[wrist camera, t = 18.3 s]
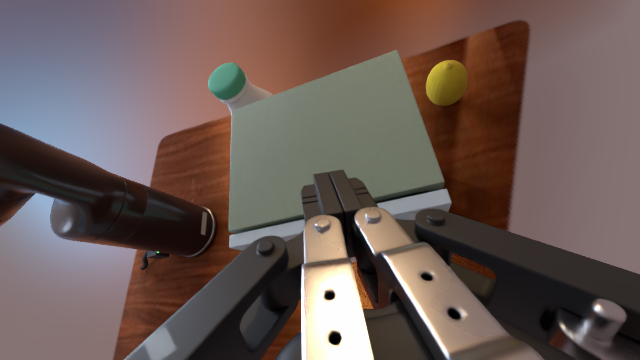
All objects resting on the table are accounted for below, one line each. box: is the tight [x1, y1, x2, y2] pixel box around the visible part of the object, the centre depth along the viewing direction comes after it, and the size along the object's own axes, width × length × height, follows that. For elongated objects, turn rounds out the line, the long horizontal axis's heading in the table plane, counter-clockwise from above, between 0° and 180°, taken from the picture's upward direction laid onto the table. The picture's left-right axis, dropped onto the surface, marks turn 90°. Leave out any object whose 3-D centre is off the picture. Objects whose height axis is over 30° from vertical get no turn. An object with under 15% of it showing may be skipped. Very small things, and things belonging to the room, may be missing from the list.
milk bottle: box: [208, 63, 273, 115], centre depth 40 cm, size 8×8×20 cm
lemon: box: [426, 60, 468, 106], centre depth 39 cm, size 6×6×8 cm
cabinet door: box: [229, 189, 452, 263], centre depth 26 cm, size 6×16×22 cm, turn 97°
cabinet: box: [228, 50, 445, 234], centre depth 30 cm, size 12×16×22 cm
